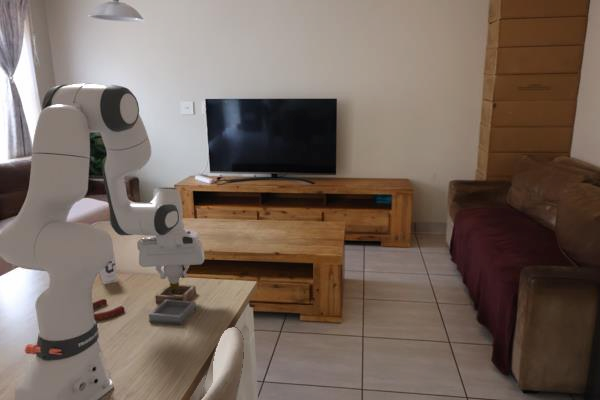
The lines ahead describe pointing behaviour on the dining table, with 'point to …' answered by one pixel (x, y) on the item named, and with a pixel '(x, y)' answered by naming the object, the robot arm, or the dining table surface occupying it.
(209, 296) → the dining table surface
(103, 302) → the pliers
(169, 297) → the frame
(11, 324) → the dining table surface
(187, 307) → the tray
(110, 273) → the ink box
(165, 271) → the light bulb
